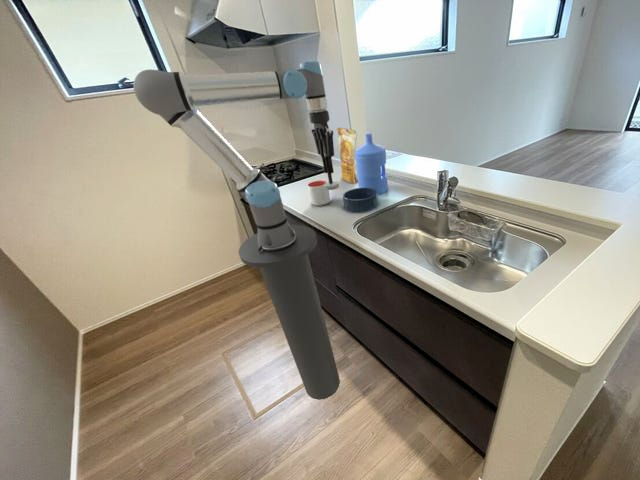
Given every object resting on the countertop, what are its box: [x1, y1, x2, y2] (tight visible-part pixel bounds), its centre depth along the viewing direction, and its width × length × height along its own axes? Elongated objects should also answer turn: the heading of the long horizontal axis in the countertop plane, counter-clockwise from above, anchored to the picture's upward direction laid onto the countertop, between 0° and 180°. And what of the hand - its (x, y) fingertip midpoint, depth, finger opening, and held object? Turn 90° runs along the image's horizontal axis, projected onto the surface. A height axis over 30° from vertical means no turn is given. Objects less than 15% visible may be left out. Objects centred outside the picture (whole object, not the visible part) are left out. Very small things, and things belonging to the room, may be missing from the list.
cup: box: [306, 180, 331, 207], centre depth 150 cm, size 10×10×10 cm
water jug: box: [355, 133, 389, 196], centre depth 152 cm, size 16×16×28 cm
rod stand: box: [323, 147, 340, 191], centre depth 127 cm, size 6×6×17 cm
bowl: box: [342, 187, 379, 213], centre depth 143 cm, size 17×17×6 cm
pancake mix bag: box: [336, 127, 358, 184], centre depth 172 cm, size 7×19×28 cm, turn 30°
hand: (329, 172), depth 128 cm, fingers closed on rod stand, 2 cm apart
